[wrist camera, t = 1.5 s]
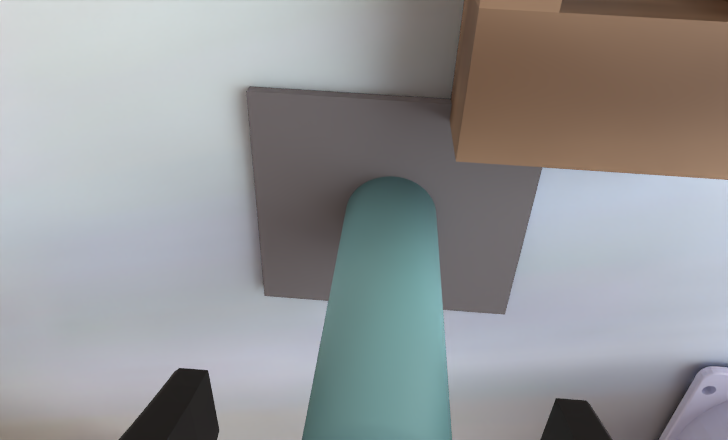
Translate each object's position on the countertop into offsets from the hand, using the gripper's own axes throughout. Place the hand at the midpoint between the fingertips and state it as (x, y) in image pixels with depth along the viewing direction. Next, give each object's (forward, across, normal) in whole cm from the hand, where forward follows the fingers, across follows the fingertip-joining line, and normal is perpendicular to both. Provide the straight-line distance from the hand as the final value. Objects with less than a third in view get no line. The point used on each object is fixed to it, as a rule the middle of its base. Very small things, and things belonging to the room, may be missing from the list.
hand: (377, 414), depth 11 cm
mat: (+8, 0, 0) cm, 8 cm away
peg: (+8, 0, 0) cm, 8 cm away
